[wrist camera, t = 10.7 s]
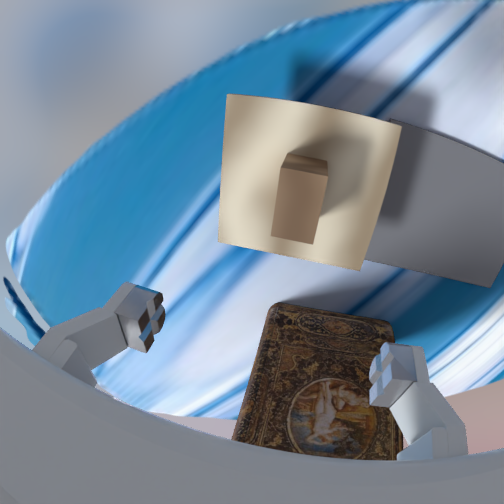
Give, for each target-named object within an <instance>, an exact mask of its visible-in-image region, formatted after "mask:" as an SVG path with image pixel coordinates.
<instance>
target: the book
mask: <svg viewBox="0 0 504 504" xmlns="http://www.w3.org/2000/svg"><path fill="white" fill-rule="evenodd" d="M385 342H389V343H395V339H394V333H393V330H392V326H391V325H390V323H389V322H387V321H383V320H377V319H372V318H367V317H360V316H354V315H348V314H342V313H335V312H329V311H324V310H318V309H312V308H306V307H301V306H295V305H290V304H284V303H276V304H274V305H272V306H271V307H270V309H269V311H268V313H267V317H266V321H265V325H264V328H263V332H262V336H261V339H260V343H259V347H258V350H257V354H256V357H255V361H254V364H253V368H252V372H251V375H250V379H249V382H248V385H247V389H246V392H245V396H244V399H243V403H242V406H241V409H240V413H239V416H238V419H237V423H236V426H235V429H234V433H233V436H232V439H231V440H234V441H238V442H242V443H246V444H251V445H255V446H260V447H265V448H270V449H275V450H280V451H286V452H292V453H298V454H305V455H312V456H320V457H330V458H341V459H355V460H384V461H395V460H397V454H398V453H399V452H401V451H402V450H403V433H402V431H401V429H400V427H399V426H398V424H397V422H396V420H395V418H394V416H393V414H392V412H391V410H390V409H389V408H390V407H381V406H372V405H370V389H371V387H372V386H373V384H372V383H371V382H370V380H369V372H370V367H371V364H372V361H373V360H374V358H375V356H377V355H379V354H381V351H380V348H381V347H382V345H383V344H384V343H385Z"/></svg>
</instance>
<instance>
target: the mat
mask: <svg viewBox="0 0 504 504" xmlns="http://www.w3.org/2000/svg"><path fill="white" fill-rule="evenodd" d="M390 122H391V123H394V124H397V125H400V126H402V128H401V133H400V137H399V142H398V146H397V150H396V154H395V158H394V162H393V166H392V170H391V174H390V178H389V181H388V185H387V189H386V192H385V196H384V199H383V203H382V206H381V209H380V212H379V216H378V219H377V222H376V225H375V228H374V231H373V234H372V237H371V240H370V243H369V246H368V249H367V252H366V255H365V258H364V260H368V261H373V262H377V263H382V264H387V265H391V266H396V267H400V268H405V269H409V270H414V271H418V272H423V273H427V274H432V275H436V276H440V277H445V278H449V279H454V280H458V281H462V282H467V283H471V284H475V285H479V286H484V287H488V288H490V287H491V286H492V284H493V282H494V280H495V279H496V277H497V275H498V273H499V271H500V269H501V267H502V266H503V264H504V163H502V162H500V161H498V160H496V159H494V158H492V157H490V156H488V155H486V154H483V153H481V152H479V151H477V150H475V149H472V148H470V147H468V146H466V145H463V144H461V143H458V142H456V141H453V140H451V139H448V138H446V137H443V136H441V135H438V134H435V133H433V132H430V131H427V130H424V129H421V128H418V127H415V126H412V125H409V124H406V123H403V122H400V121H397V120H393V119H390Z"/></svg>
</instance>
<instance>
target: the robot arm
mask: <svg viewBox="0 0 504 504" xmlns="http://www.w3.org/2000/svg"><path fill="white" fill-rule="evenodd" d="M162 302H163V295H162V293H160V292H157V291H154V290H151V289H148V288H145V287H142V286H139V285H135V284H132V283H129V282H125V283H123V284H122V285H121V286H120V288H119V289H118V290H117V291H116V292H115V294H114V295H113V296H112V297H111V298H110V299H109V301H108V302H107V303H106V304H105V306H104V307H103V308H100V307H99V308H97V309H94V310H92V311H89V312H87V313H85V314H82V315H80V316H78V317H75V318H73V319H70V320H68V321H66V322H63V323H61V324H59V325H56V326H54V327H52V328H50V329H49V330H48V331H47V333H46V334H45V335H44V336H43V337H42V339H41V340H40V341H39V342H38V344H37V345H36V346H35V347H34V349H33V350H31V349H29V348H28V347H26V346H25V345H23V344H22V343H20V342H19V341H18V340H16V339H15V338H13V337H12V336H11V335H9V334H8V333H7V332H6V331H4V330H3V329H2V328H0V504H504V448H502V449H497V450H492V451H487V452H482V453H476V454H470V455H468V446H467V437H466V429H465V425H464V423H463V422H462V420H461V419H460V418H459V416H458V415H457V414H456V412H455V411H454V410H453V408H452V407H451V406H450V404H449V403H448V402H447V401H446V399H445V398H444V397H443V395H442V394H441V393H440V391H439V390H438V389H437V388H436V386H435V385H434V384H433V383H430V381H429V375H428V370H427V364H426V359H425V354H424V350H423V348H422V347H419V346H411V345H410V346H409V345H404V344H396V343H389V342H385V343H384V344H383V345H382V347H381V348H380V351H381V354H379V355H377V356H375V358H374V360H373V361H372V364H371V367H370V372H369V380H370V382H371V383H372V384H373V386H372V387H371V389H370V405H372V406H381V407H390V408H389V409H390V410H391V412H392V414H393V416H394V418H395V420H396V422H397V424H398V426H399V427H400V429H401V431H402V433H403V435H404V437H405V439H406V441H407V443H408V445H409V446H408V447H406V448H405V449H404V450H402V451H401V452H399V453H398V454H397V460H395V461H384V460H355V459H341V458H330V457H320V456H312V455H305V454H298V453H292V452H286V451H280V450H275V449H270V448H265V447H260V446H255V445H251V444H246V443H242V442H238V441H234V440H230V439H227V438H223V437H219V436H216V435H212V434H209V433H206V432H202V431H199V430H196V429H193V428H190V427H187V426H184V425H181V424H178V423H175V422H173V421H170V420H167V419H164V418H162V417H159V416H157V415H154V414H152V413H149V412H147V411H144V410H142V409H139V408H137V407H135V406H132V405H130V404H128V403H126V402H123V401H121V400H119V399H117V398H115V397H113V396H111V395H109V394H106V393H104V392H102V391H100V390H98V389H96V388H95V385H96V384H97V380H96V378H95V376H94V375H93V373H92V371H91V370H92V369H94V368H96V367H97V366H99V365H100V364H102V363H104V362H105V361H107V360H109V359H110V358H112V357H113V356H115V355H117V354H118V353H120V352H121V351H123V350H125V349H126V348H127V347H130V348H133V349H136V350H138V351H141V352H144V353H147V352H148V350H149V349H150V347H151V345H152V344H153V342H154V336H153V335H154V334H156V333H158V332H160V330H161V328H162V327H163V324H164V321H165V309H164V307H163V306H162V305H161V303H162Z"/></svg>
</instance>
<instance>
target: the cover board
mask: <svg viewBox="0 0 504 504" xmlns="http://www.w3.org/2000/svg"><path fill="white" fill-rule="evenodd" d="M401 128H402V126H400V125H397V124H394V123H391V122H387V121H384V120H380V119H377V118H373V117H369V116H365V115H361V114H357V113H353V112H349V111H344V110H340V109H335V108H330V107H325V106H320V105H315V104H309V103H303V102H297V101H291V100H284V99H277V98H269V97H261V96H251V95H240V94H227V101H226V113H225V126H224V140H223V155H222V171H221V188H220V207H219V229H218V242H221V243H226V244H231V245H236V246H240V247H245V248H250V249H255V250H260V251H265V252H270V253H275V254H279V255H284V256H289V257H294V258H299V259H304V260H308V261H313V262H318V263H323V264H328V265H333V266H337V267H342V268H347V269H352V270H357V271H360V269H361V266H362V263H363V261H364V258H365V255H366V252H367V249H368V246H369V243H370V240H371V237H372V234H373V231H374V228H375V225H376V222H377V219H378V216H379V212H380V209H381V206H382V203H383V199H384V196H385V192H386V189H387V185H388V181H389V178H390V174H391V170H392V166H393V162H394V158H395V154H396V150H397V146H398V142H399V137H400V133H401Z"/></svg>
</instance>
